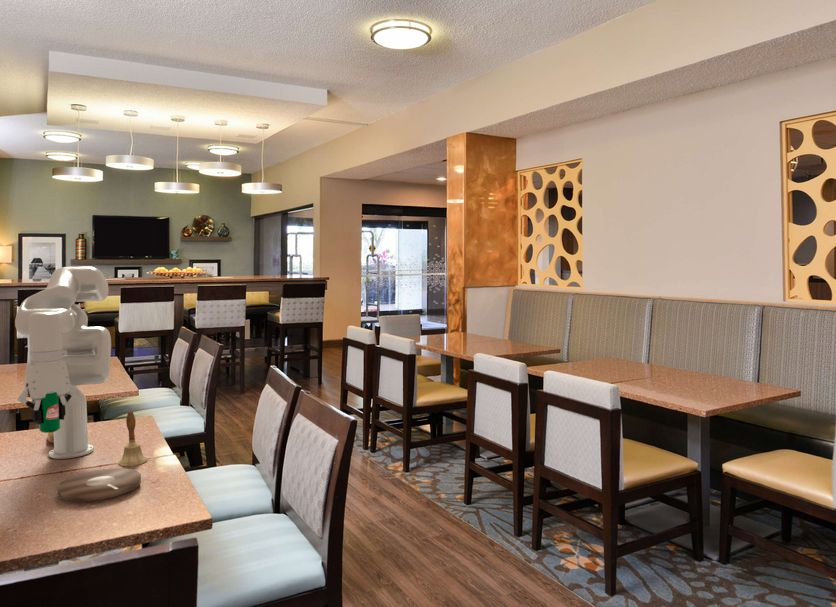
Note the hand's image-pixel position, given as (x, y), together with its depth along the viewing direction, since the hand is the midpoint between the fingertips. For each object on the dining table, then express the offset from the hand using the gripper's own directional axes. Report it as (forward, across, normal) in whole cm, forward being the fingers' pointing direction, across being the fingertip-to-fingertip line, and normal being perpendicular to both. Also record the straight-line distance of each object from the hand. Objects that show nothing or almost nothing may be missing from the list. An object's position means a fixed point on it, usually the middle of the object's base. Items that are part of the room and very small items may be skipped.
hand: (49, 420), depth 167 cm
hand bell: (+18, -23, +1) cm, 29 cm away
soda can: (+3, 0, 0) cm, 3 cm away
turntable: (+17, -6, +17) cm, 24 cm away
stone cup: (+19, -21, -41) cm, 50 cm away
